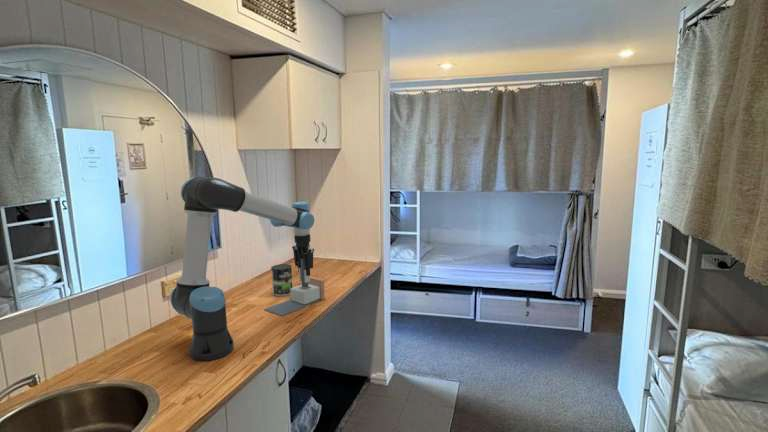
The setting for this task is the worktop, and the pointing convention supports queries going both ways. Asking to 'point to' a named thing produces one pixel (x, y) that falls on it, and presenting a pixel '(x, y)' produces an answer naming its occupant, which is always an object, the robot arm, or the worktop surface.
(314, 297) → the hole block
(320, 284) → the wall
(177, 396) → the worktop surface
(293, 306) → the rubber mat
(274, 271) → the coffee can
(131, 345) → the worktop surface
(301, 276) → the dowel
